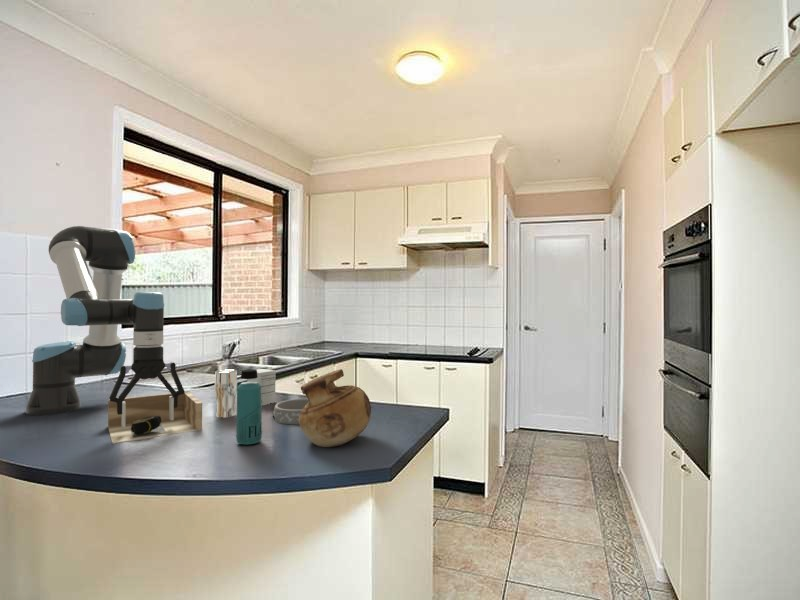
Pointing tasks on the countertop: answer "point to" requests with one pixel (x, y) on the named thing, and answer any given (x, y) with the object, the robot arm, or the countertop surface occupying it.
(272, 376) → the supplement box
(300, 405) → the dog bowl
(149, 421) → the tape measure
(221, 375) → the white piece
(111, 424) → the corner tray
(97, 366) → the robot arm
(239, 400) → the beverage bottle
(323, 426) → the clay pot
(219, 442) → the countertop surface
